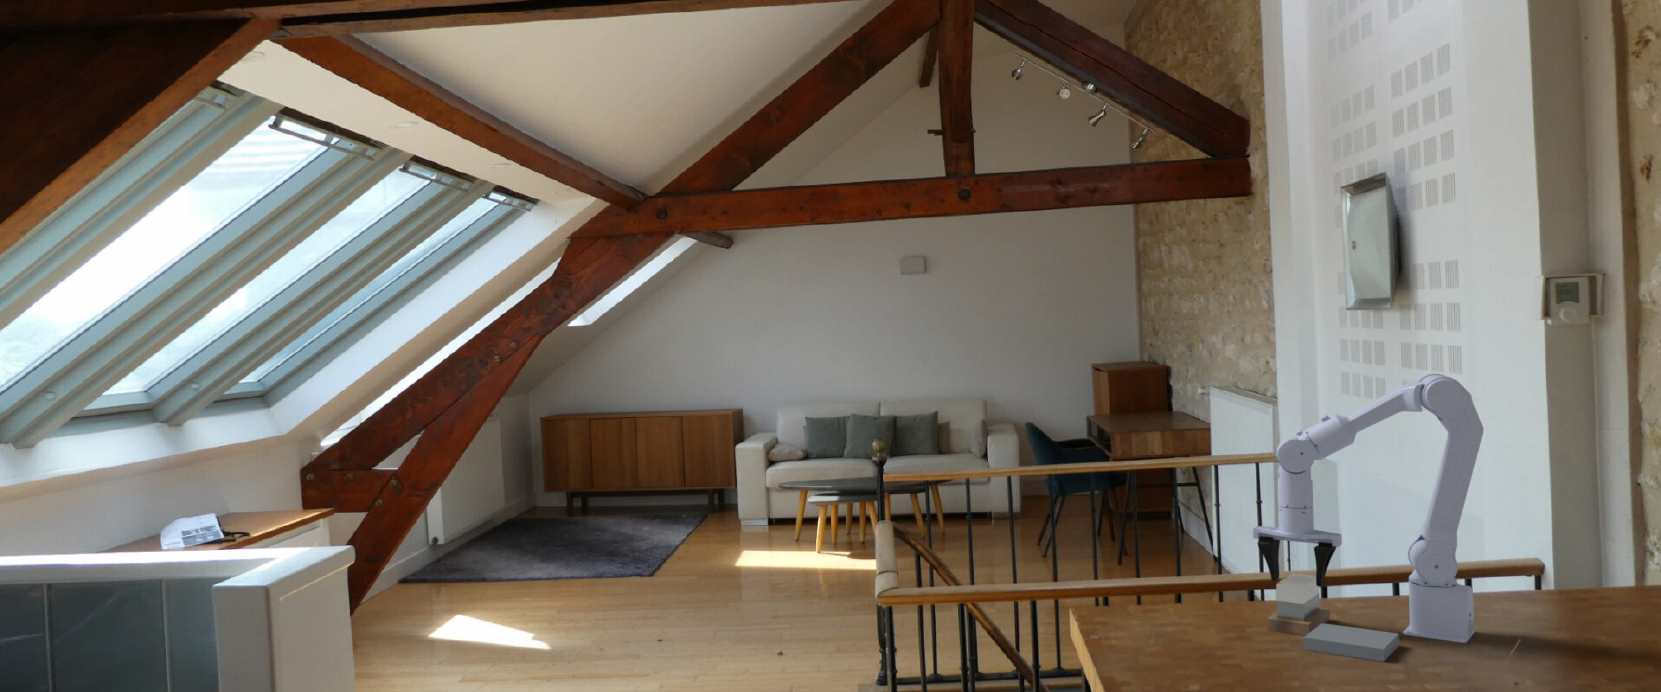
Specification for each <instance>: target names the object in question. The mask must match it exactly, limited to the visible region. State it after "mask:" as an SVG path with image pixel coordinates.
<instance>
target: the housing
mask: <svg viewBox="0 0 1661 692" xmlns="http://www.w3.org/2000/svg"><path fill="white" fill-rule="evenodd" d="M1275 588H1276V612H1277V618H1284V619H1291V620H1298V621H1305V620H1307V619H1308V618H1309V617H1311V616H1312V615H1313V614H1314V613H1316V612H1317V611H1318V610H1320V608H1321V606H1320V586H1317V585H1316V575H1311V574H1301V573H1294V572H1293V573H1291V574H1289V575H1288V576H1286V577H1285V578H1282V579H1281V580H1279V581H1278V582H1277V583H1276V587H1275Z"/></svg>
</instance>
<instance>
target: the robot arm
mask: <svg viewBox="0 0 1661 692" xmlns="http://www.w3.org/2000/svg"><path fill="white" fill-rule="evenodd" d="M1423 408H1424V409H1426V410H1427V411H1428V412H1430V413H1431V414H1433V415H1434V416H1435V417H1436V418H1437V420H1438V422H1440V424H1441V425H1442V426H1443V427H1444V428H1445V430H1446V431H1447V438H1446V441H1445V444H1444V449H1443V452H1442V453H1443V454H1442V457H1441V461H1440V464H1439V468H1438V472H1437V475H1436V479H1435V483H1434V487H1433V491H1432V495H1431V498H1430V502H1429V506H1428V509H1427V513H1426V516H1425V521H1424V522H1423V524H1422V525H1421V527H1420V529H1419V533H1418V536H1417V537H1416V539H1415V540H1414V541H1413V542H1412V543H1411V544H1410V546H1409V547H1408V550H1407V559H1408V561H1409V563H1410V565H1411V566H1412V567H1413V568H1414V570H1413V571H1412V573H1411V574H1410V575H1409V576H1408V597H1409V601H1408V602H1409V625H1408V626H1407V628H1406V629H1405V630H1403V631H1402V635H1405V636H1410V637H1411V636H1412V637H1416V638H1417V637H1418V638H1423V639H1424V638H1425V639H1432V640H1438V641H1439V640H1440V641H1447V642H1454V643H1460V644H1466V643H1468V642H1469V641H1470V639H1471V637H1472V636H1473V635H1474V634H1475V633H1476V632H1475V623H1474V618H1475V617H1474V615H1475V613H1474V594H1473V589H1472V586H1470V585H1466V584H1460V583H1458V579H1457V578H1456V575H1457V573H1458V569H1459V568H1458V567H1459V566H1458V565H1459V564H1458V561H1457V558H1456V552H1457V548H1458V528H1459V525H1460V522H1461V517H1462V513H1463V511H1464V506H1465V503H1466V499H1467V495H1468V491H1469V487H1470V483H1471V480H1472V477H1473V472H1474V469H1475V465H1476V462H1477V458H1478V453H1479V450H1480V446H1481V442H1482V440H1483V435H1484V426H1483V423H1482V421H1481V418H1480V417H1479V414H1478V411H1477V409H1476V406H1475V404H1474V401H1473V398H1472V394H1471V393H1470V392H1469V391H1468V390H1467V389H1466V388H1465V387H1464V386H1463V384H1461V383H1460V382H1459V381H1458V380H1456V379H1455V378H1452V377H1450V376H1446V375H1444V374H1440V373H1429V374H1427V375H1424V376H1423V377H1421V378H1420V379H1419V380H1417V379H1415V380H1412V381H1410V382H1407V383H1405V384H1403V385H1400V386H1398V387H1396V388H1394V389H1392V390H1391V391H1389V392H1387V393H1386V394H1384V395H1382V396H1381V397H1379V398H1376V399H1375V400H1373V401H1372V402H1370V403H1368V404H1367V405H1364V406H1363V407H1361V408H1359V409H1357V410H1356V411H1354V412H1352V413H1351V414H1349V415H1347V416H1343V415H1339V414H1332V415H1331V416H1329V415H1327V414H1325V415H1323V416H1320V421H1319V422H1317V423H1316V424H1314V425H1312V426H1311V427H1308V428H1306V429H1305V430H1303V431H1302V430H1301V429H1299V430H1297V431H1295V434H1296V436H1297V437H1296V436H1295V437H1293V436H1290V437H1286V438H1285V439H1282V440H1281V441H1280V442H1279V443H1278V445H1277V448H1276V451H1275V457H1276V459H1277V461H1278V463H1279V465H1278V470H1277V475H1278V478H1277V503H1278V504H1277V505H1278V506H1277V507H1278V526H1264V525H1263V526H1261V525H1260V526H1259V525H1256V526H1254V527H1252V537H1253V539H1257V540H1258V541H1257V547H1258V548H1259V550H1260V552H1261V554H1262V556H1263V557H1264V560H1265V562H1266V565H1267V567H1268V571H1269V575H1270V579H1271V581H1273V582H1276V581H1277V580H1280V563H1279V560H1280V559H1279V558H1280V557H1279V555H1280V545H1281V543H1280V542H1281V541H1286V542H1288V541H1289V542H1294V543H1295V542H1298V543H1307V544H1317V545H1315V546H1314V547H1313V552H1314V558H1315V568H1316V571H1315V573H1316V574H1315V576H1316V585H1317V586H1319V587H1322V586H1324V585H1325V580H1326V574H1327V570H1328V567H1329V564H1330V562H1331V560H1332V557H1333V555H1334V553H1335V551H1336V549H1337V548H1339V547H1340V546H1341V545H1342V544H1343V543H1342V542H1343V540H1342V538H1343V537H1342V533H1336V532H1329V531H1323V530H1319V529H1315V527H1314V526H1315V525H1314V523H1315V522H1314V520H1315V519H1314V482H1313V479H1312V466H1313V464H1314V462H1315V461H1321V460H1323V459H1325V458H1327V457H1329V456H1331V455H1333V454H1335V453H1336V452H1339V451H1341V450H1343V449H1344V448H1347V447H1348V446H1350V445H1352V444H1354V442H1355V441H1356V440H1355V439H1356V437H1357V436H1356V435H1357V433H1359V432H1361V431H1363V430H1365V429H1367V428H1370V427H1371V426H1374V425H1377V423H1380V422H1382V421H1384V420H1386V419H1388V418H1390V417H1393V416H1394V415H1396V414H1398V413H1402V412H1417V413H1418V412H1420V413H1421V412H1423Z"/></svg>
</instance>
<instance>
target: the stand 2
mask: <svg viewBox="0 0 1661 692" xmlns="http://www.w3.org/2000/svg"><path fill="white" fill-rule="evenodd" d="M1399 647H1400V634H1399V633H1395V632H1388V631H1382V630H1373V629H1366V628H1362V627H1361V628H1359V627H1354V626H1353V627H1352V626H1346V625H1338V624H1333V623H1332V624H1331V623H1321V624H1320V625H1319V626H1317V627H1316V628H1315V629H1314V630H1312V631H1311V632H1310V633H1309V634H1307V635H1306V636H1305V635H1304V637H1303V649H1304V650H1305V651H1312V652H1318V653H1326V654H1332V655H1338V656H1344V657H1351V658H1357V659H1364V660H1370V661H1375V662H1376V661H1377V662H1386V660H1387V659H1388V658H1389V657H1390V656H1391V655H1392V654H1393V653H1394V652H1395V651H1396V650H1397V649H1398V648H1399Z"/></svg>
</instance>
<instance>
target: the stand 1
mask: <svg viewBox="0 0 1661 692" xmlns="http://www.w3.org/2000/svg"><path fill="white" fill-rule="evenodd" d="M1330 615H1331V613H1330V608H1327V607H1320V610H1318V611H1317V612H1316V613H1314V614H1313V615H1312V616H1311V617H1309V618H1308V619H1307V620H1305V621H1298V620H1291V619H1284V618H1277V611H1276V612H1274V613H1273V614H1272V615H1270V616H1269V617H1267V618H1266V621H1267V622H1266V624H1267V631H1271V632H1280V633H1286V634H1293V635H1300V636H1304V637H1305V636H1306V635H1307V634H1309V633H1310V632H1311V631H1312V630H1314V629H1315V628H1316V627H1317V626H1319V625H1320V624H1321V623H1325V624H1327V623H1328V622H1329V621H1330V618H1331V617H1330Z"/></svg>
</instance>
